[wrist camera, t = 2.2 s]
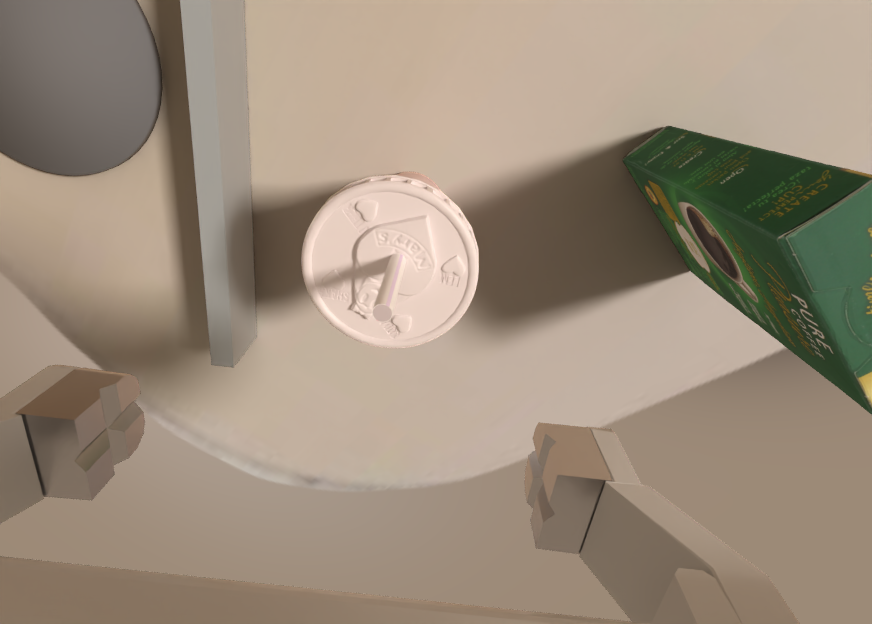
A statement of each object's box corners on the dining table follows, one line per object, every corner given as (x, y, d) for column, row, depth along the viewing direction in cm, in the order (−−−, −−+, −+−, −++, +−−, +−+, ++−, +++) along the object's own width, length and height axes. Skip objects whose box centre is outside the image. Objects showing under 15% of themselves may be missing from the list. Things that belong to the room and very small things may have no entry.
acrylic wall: (209, -135, 20) (165, -175, 17) (238, -130, 20) (199, -169, 17) (237, 334, 30) (211, 364, 26) (256, 336, 30) (233, 367, 26)
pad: (-115, -107, 21) (-127, -112, 20) (146, -70, 21) (139, -73, 21) (-40, 159, 26) (-48, 160, 25) (173, 186, 26) (168, 188, 25)
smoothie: (495, 191, 26) (538, 301, 13) (426, 285, 28) (407, 456, 15) (390, 117, 24) (324, 158, 11) (328, 222, 26) (215, 353, 14)
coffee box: (740, 246, 26) (977, 381, 15) (691, 277, 27) (876, 428, 15) (670, 120, 24) (887, 161, 12) (617, 159, 25) (772, 232, 13)
